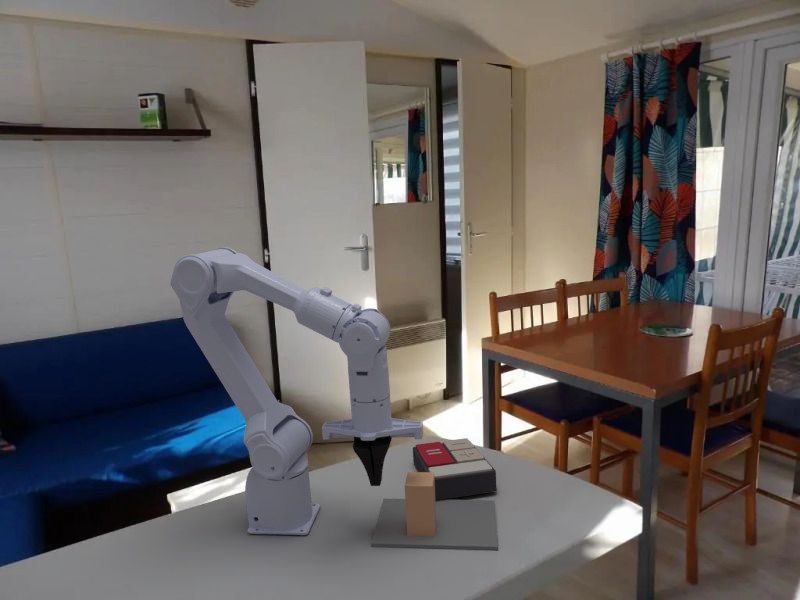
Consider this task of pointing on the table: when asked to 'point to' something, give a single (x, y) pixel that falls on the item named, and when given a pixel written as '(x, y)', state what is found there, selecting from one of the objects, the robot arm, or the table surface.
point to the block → (420, 504)
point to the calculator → (455, 468)
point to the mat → (440, 526)
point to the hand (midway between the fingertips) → (376, 482)
